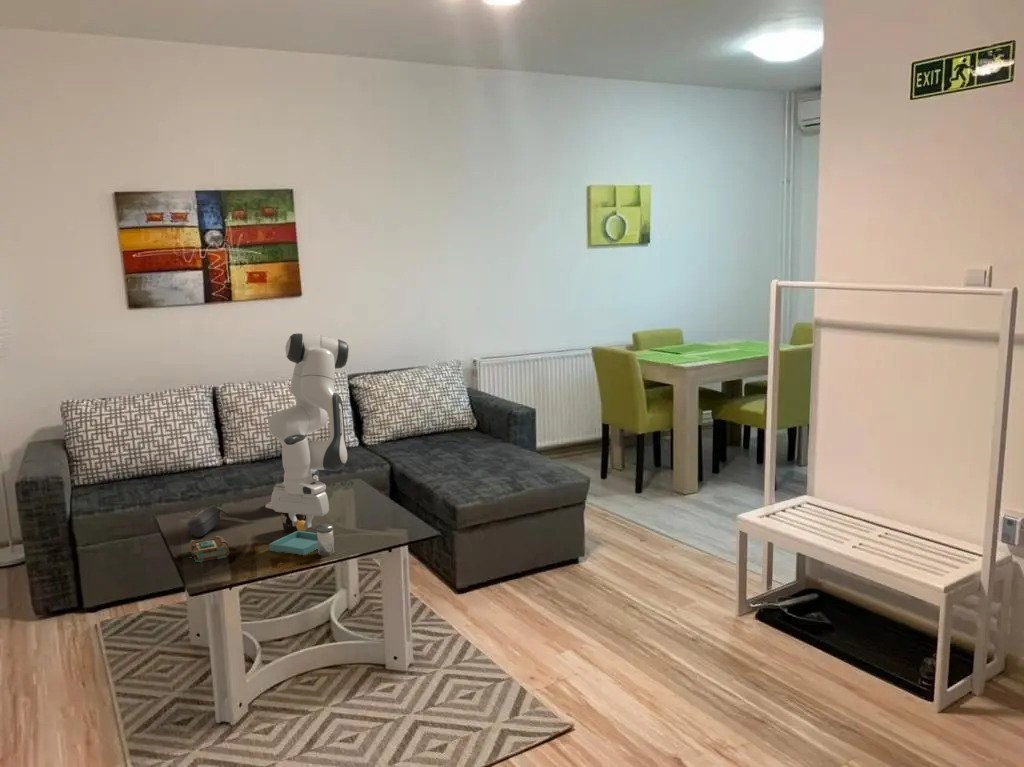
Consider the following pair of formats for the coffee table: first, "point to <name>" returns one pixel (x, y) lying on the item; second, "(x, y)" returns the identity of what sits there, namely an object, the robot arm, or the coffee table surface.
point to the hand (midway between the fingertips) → (302, 526)
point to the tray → (296, 543)
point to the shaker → (325, 539)
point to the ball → (301, 526)
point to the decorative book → (209, 549)
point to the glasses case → (204, 521)
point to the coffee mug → (290, 522)
